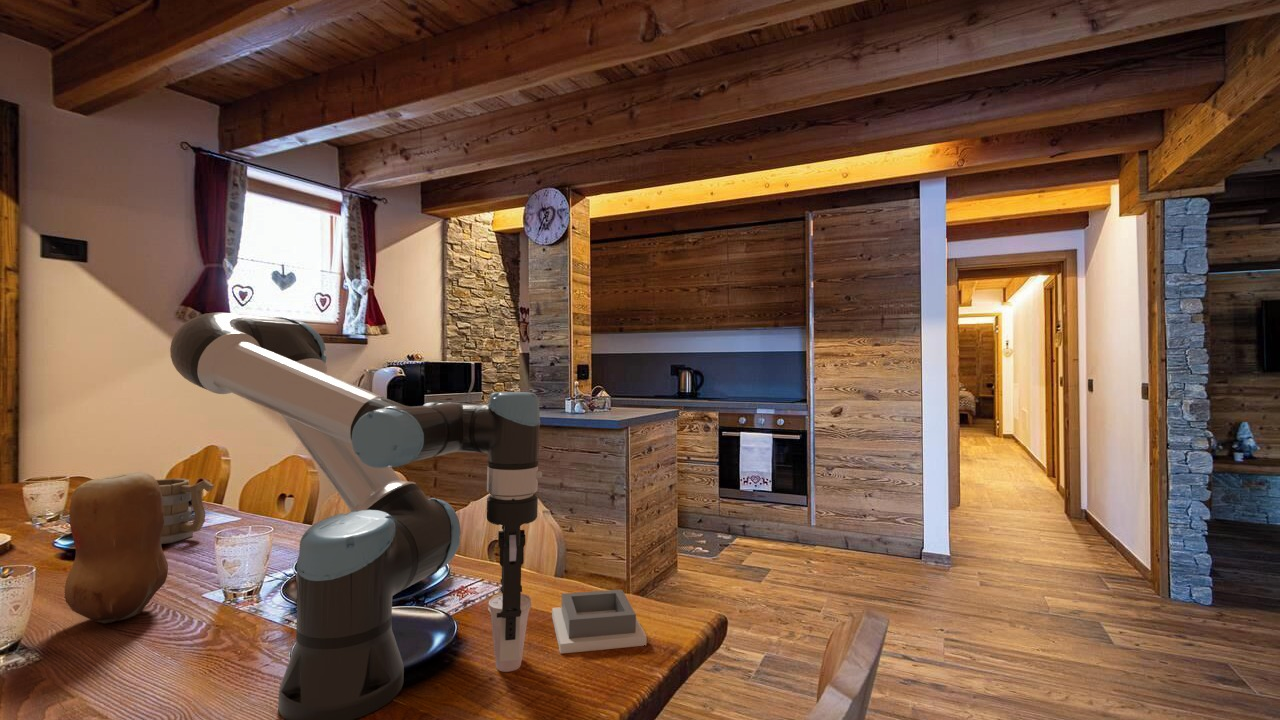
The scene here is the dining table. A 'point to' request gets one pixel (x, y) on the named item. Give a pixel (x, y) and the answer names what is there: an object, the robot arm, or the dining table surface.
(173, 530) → the tankard
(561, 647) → the holder
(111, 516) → the butternut squash
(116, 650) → the dining table surface
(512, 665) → the smoothie
